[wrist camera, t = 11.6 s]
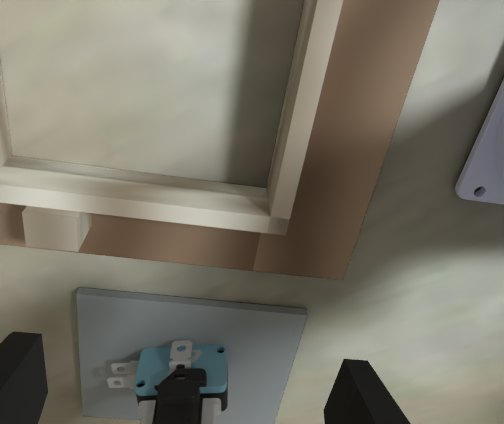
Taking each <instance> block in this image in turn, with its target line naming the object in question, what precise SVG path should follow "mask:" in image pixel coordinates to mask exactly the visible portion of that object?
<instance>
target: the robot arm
mask: <svg viewBox="0 0 504 424" xmlns="http://www.w3.org/2000/svg"><path fill="white" fill-rule="evenodd" d="M478 187H481V189H480V190H479V191H478V192H475V193H474V191H475V189H476V188H478ZM455 192H456V193H457V195H458V196H459V197H460V198H462V199H466V200H473V201H481V202H488V203H496V204H504V79H503V81H502V84H501V86H500V88H499V90H498V92H497V95H496V97H495V99H494V101H493V104H492V106H491V108H490V110H489V112H488V115H487V117H486V119H485V121H484V124H483V126H482V128H481V130H480V132H479V135H478V137H477V139H476V141H475V144H474V146H473V148H472V150H471V152H470V155H469V157H468V159H467V161H466V163H465V166H464V168H463V170H462V172H461V175H460V177H459V179H458V181H457V183H456V186H455ZM47 393H48V388H47V379H46V370H45V361H44V352H43V343H42V334H36V333H24V332H12V333H11V334H9V335H8V336H7V337H6V338H5V339H4V340H3V341H2V342H1V343H0V424H38V421H39V418H40V415H41V412H42V409H43V406H44V403H45V400H46V396H47ZM324 419H325V424H410V422H409V421H408V419H407V418H406V416H405V415H404V414H403V412H402V411H401V409H400V408H399V406H398V405H397V403H396V402H395V400H394V399H393V398H392V396H391V395H390V393H389V392H388V390H387V389H386V387H385V386H384V384H383V383H382V381H381V380H380V378H379V377H378V375H377V374H376V372H375V371H374V369H373V368H372V366H371V365H370V364H369V362H368V361H364V360H352V359H344V360H343V363H342V365H341V368H340V370H339V373H338V375H337V378H336V380H335V383H334V385H333V388H332V390H331V393H330V396H329V398H328V401H327V403H326V406H325V408H324Z"/></svg>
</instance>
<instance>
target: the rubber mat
mask: <svg viewBox="0 0 504 424" xmlns="http://www.w3.org/2000/svg"><path fill="white" fill-rule="evenodd" d="M76 305H77V324H78V343H79V362H80V380H81V399H82V416H86V417H103V418H119V419H135V420H141V417H140V416H139V414H138V402H137V397H136V392H135V389H130V387H127V388H110V387H109V386H108V382H107V378H108V377H127V375H132V374H133V373H129V374H114V373H113V372H112V368H111V364H112V363H130V361H139V360H140V355H141V352H142V350H144V349H145V348H157V347H172V343H173V342H174V341H182V340H190V341H191V342H192V346H214V345H224V346H225V347H226V349H227V367H228V406H227V409H226V410H224V411H221V414H219V415H216V416H215V424H274V423H275V420H276V416H277V413H278V410H279V407H280V403H281V400H282V397H283V394H284V391H285V387H286V384H287V381H288V378H289V374H290V371H291V368H292V365H293V361H294V358H295V355H296V352H297V349H298V345H299V342H300V339H301V336H302V332H303V329H304V326H305V323H306V320H307V316H308V315H307V310H306V309H301V308H291V307H280V306H270V305H259V304H249V303H238V302H228V301H217V300H207V299H196V298H186V297H175V296H165V295H154V294H144V293H133V292H123V291H112V290H102V289H91V288H81V287H79V288H78V290H77V293H76ZM179 347H185V346H179ZM118 369H119V370H124V369H125V368H124V367H121V366H120V367H118ZM114 383H115V384H121V382H120V381H117V380H116V381H114Z"/></svg>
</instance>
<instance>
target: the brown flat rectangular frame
mask: <svg viewBox="0 0 504 424" xmlns="http://www.w3.org/2000/svg"><path fill="white" fill-rule="evenodd" d="M438 3H439V0H304V5H303V10H302V15H301V20H300V25H299V30H298V35H297V40H296V45H295V50H294V54H293V59H292V64H291V69H290V74H289V79H288V84H287V89H286V94H285V99H284V103H283V108H282V113H281V118H280V123H279V128H278V133H277V138H276V143H275V148H274V153H273V157H272V162H271V167H270V172H269V177H268V182H267V187H266V188H260V187H252V186H245V185H237V184H229V183H221V182H213V181H205V180H198V179H190V178H182V177H174V176H166V175H158V174H150V173H143V172H135V171H127V170H119V169H111V168H103V167H96V166H88V165H80V164H72V163H64V162H56V161H49V160H41V159H33V158H25V157H17V156H12V151H11V143H10V135H9V127H8V119H7V111H6V103H5V95H4V86H3V78H2V70H1V62H0V245H10V246H19V247H29V248H38V249H48V250H58V251H67V252H77V253H86V254H96V255H106V256H115V257H125V258H134V259H144V260H153V261H163V262H173V263H182V264H192V265H201V266H211V267H221V268H230V269H240V270H249V271H259V272H268V273H278V274H288V275H297V276H307V277H316V278H326V279H335V280H343V278H344V275H345V272H346V269H347V266H348V263H349V261H350V258H351V255H352V252H353V249H354V246H355V243H356V240H357V237H358V235H359V232H360V229H361V226H362V223H363V220H364V217H365V214H366V211H367V209H368V206H369V203H370V200H371V197H372V194H373V191H374V188H375V185H376V182H377V180H378V177H379V174H380V171H381V168H382V165H383V162H384V159H385V156H386V154H387V151H388V148H389V145H390V142H391V139H392V136H393V133H394V130H395V128H396V125H397V122H398V119H399V116H400V113H401V110H402V107H403V104H404V102H405V99H406V96H407V93H408V90H409V87H410V84H411V81H412V78H413V75H414V73H415V70H416V67H417V64H418V61H419V58H420V55H421V52H422V49H423V47H424V44H425V41H426V38H427V35H428V32H429V29H430V26H431V23H432V21H433V18H434V15H435V12H436V9H437V6H438Z"/></svg>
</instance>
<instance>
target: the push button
mask: <svg viewBox="0 0 504 424" xmlns="http://www.w3.org/2000/svg"><path fill="white" fill-rule="evenodd" d="M179 346H185V347H179ZM120 366H121V367H124V368H125V369H124V370H119V369H118V367H120ZM111 368H112V372H113V373H114V374H129V373H133V374H132V375H127V377H108V378H107V382H108V386H109V387H110V388H127V387H130V389H135V392H136V397H137V402H138V414H139V416H140V417H141V423H140V424H215V416H216V415H219V414H221V411H224V410H226V409H227V406H228V367H227V349H226V347H225V346H224V345H214V346H192V342H191V341H190V340H182V341H174V342H173V343H172V347H157V348H145V349H144V350H142V352H141V355H140V360H139V361H130V363H112V364H111ZM116 380H117V381H120V382H121V384H115V383H114V381H116Z"/></svg>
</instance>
